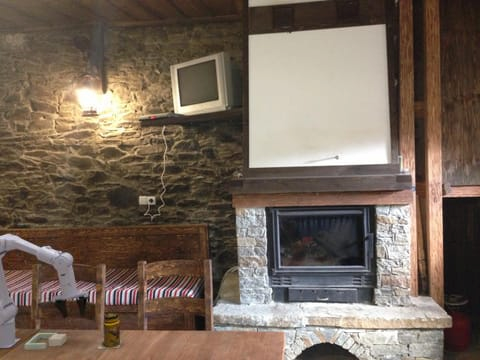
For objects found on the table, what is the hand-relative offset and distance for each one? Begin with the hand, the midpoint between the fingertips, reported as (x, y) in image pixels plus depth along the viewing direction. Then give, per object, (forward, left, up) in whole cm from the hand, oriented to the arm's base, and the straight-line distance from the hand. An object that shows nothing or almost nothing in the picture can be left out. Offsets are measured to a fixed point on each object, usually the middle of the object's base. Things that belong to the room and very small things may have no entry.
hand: (74, 316), depth 165 cm
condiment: (+15, -3, -11) cm, 19 cm away
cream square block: (-7, 0, -11) cm, 13 cm away
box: (-13, 0, -11) cm, 17 cm away
